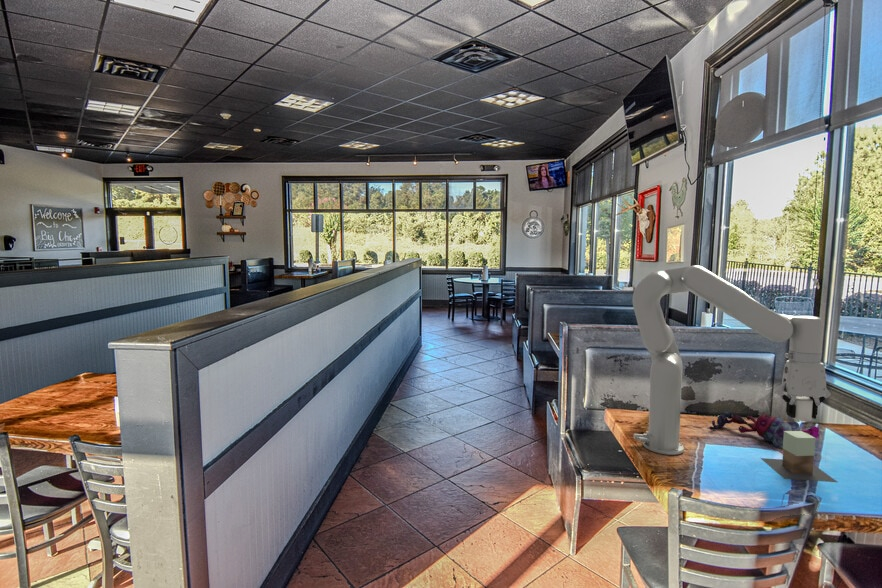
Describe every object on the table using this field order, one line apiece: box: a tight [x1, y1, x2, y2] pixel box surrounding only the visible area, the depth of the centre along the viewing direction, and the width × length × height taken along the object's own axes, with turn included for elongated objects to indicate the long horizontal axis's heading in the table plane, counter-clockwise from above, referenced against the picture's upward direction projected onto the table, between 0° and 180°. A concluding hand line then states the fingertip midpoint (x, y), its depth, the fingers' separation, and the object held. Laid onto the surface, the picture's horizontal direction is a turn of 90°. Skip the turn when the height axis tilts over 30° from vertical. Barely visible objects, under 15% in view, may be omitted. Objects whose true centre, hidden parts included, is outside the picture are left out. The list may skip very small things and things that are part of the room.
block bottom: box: [782, 449, 815, 474], centre depth 145 cm, size 6×6×6 cm
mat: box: [760, 457, 838, 483], centre depth 145 cm, size 14×14×1 cm
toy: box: [709, 411, 820, 450], centre depth 169 cm, size 16×9×30 cm
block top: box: [782, 431, 817, 457], centre depth 145 cm, size 6×6×6 cm
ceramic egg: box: [792, 396, 813, 422], centre depth 144 cm, size 5×5×6 cm
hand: (801, 416), depth 144 cm, fingers closed on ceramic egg, 5 cm apart
